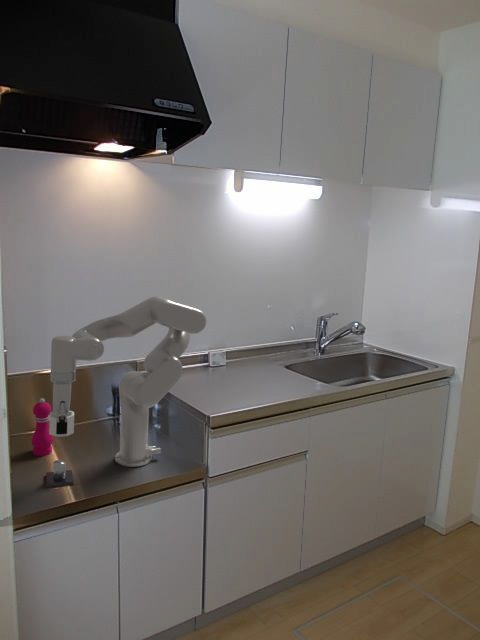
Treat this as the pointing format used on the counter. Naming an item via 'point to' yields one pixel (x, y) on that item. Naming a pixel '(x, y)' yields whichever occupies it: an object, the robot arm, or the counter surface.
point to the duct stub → (59, 475)
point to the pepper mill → (42, 429)
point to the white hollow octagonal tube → (54, 421)
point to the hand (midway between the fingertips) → (61, 428)
